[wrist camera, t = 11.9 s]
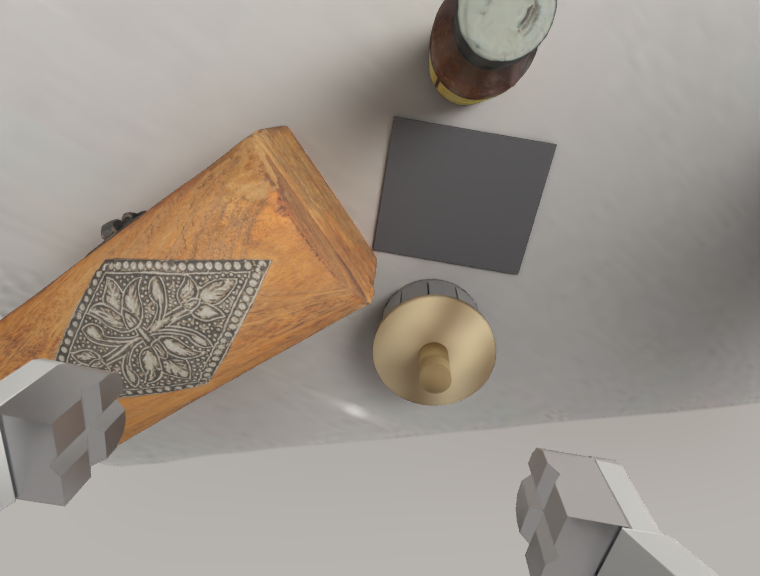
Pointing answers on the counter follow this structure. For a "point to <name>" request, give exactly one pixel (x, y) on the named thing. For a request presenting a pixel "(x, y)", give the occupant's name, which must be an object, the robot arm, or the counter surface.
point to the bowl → (428, 292)
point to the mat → (460, 195)
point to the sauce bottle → (485, 45)
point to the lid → (434, 350)
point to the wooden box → (202, 282)
